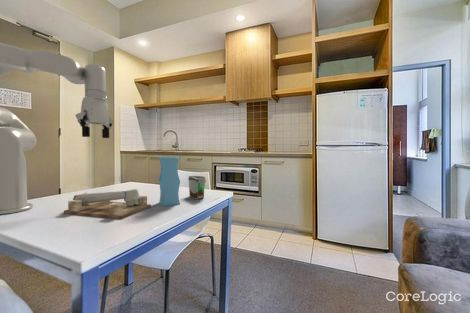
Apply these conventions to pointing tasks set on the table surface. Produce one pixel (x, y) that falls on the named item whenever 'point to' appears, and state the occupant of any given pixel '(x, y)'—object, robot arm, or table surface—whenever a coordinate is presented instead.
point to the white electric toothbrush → (111, 197)
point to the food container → (196, 187)
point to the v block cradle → (106, 208)
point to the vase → (169, 181)
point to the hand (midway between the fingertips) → (96, 137)
